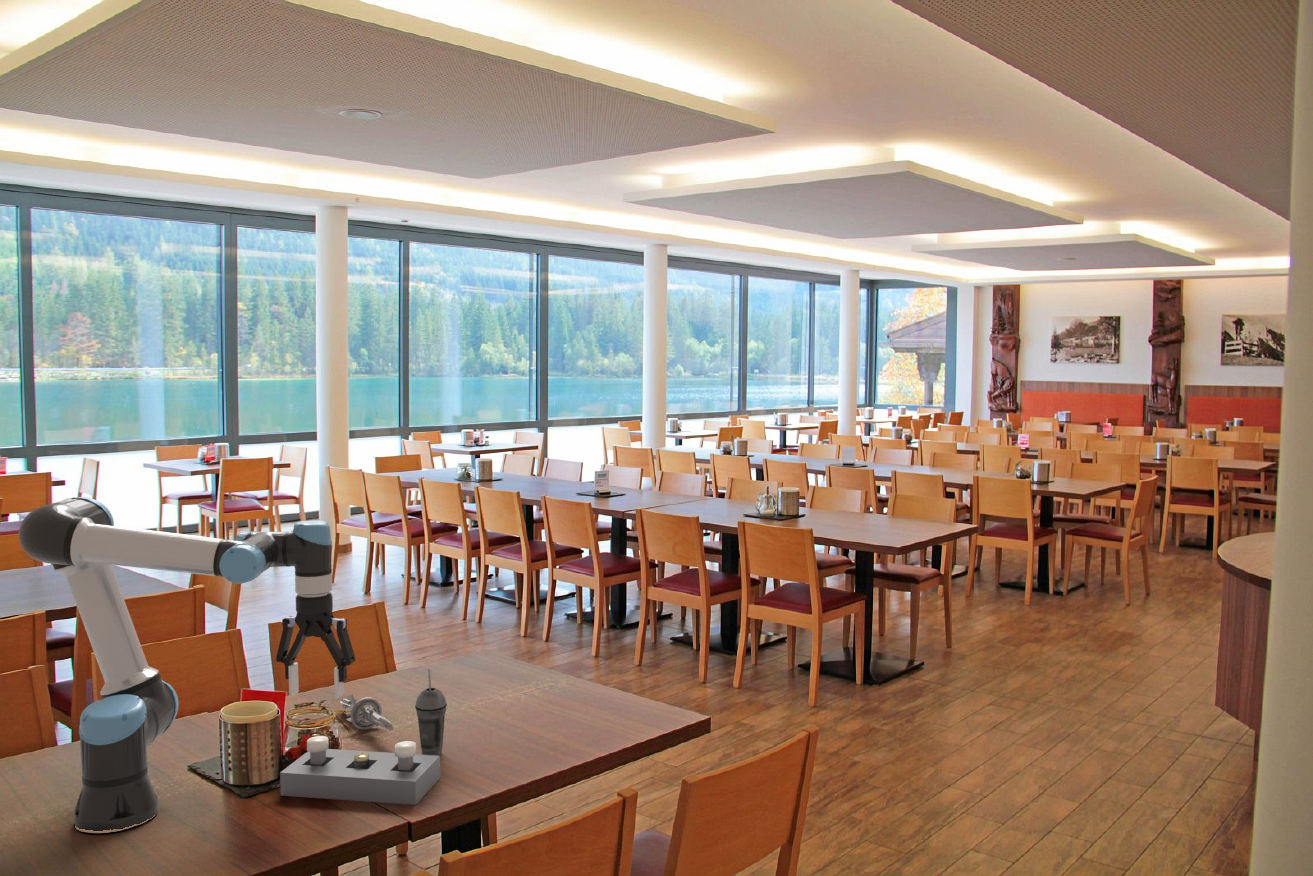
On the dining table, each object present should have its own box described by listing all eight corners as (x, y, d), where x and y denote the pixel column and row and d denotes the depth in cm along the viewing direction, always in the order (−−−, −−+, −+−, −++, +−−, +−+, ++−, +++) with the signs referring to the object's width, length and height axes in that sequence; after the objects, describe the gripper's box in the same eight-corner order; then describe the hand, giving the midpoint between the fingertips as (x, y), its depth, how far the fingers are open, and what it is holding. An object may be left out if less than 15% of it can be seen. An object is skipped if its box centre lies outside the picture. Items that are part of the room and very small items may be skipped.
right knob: (411, 772, 216) (411, 749, 215) (391, 771, 216) (391, 748, 216) (419, 764, 220) (419, 741, 220) (400, 763, 221) (399, 740, 220)
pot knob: (365, 772, 218) (365, 759, 218) (351, 772, 219) (351, 758, 218) (372, 767, 221) (371, 753, 221) (358, 766, 222) (357, 752, 221)
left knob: (322, 766, 219) (322, 744, 218) (303, 765, 219) (303, 742, 219) (332, 759, 223) (331, 736, 223) (313, 757, 224) (313, 735, 223)
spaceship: (370, 721, 237) (400, 703, 242) (323, 697, 266) (350, 681, 270) (384, 750, 239) (413, 731, 243) (336, 723, 267) (363, 706, 272)
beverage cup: (420, 762, 234) (418, 676, 232) (412, 751, 240) (411, 668, 239) (451, 756, 237) (450, 672, 236) (442, 746, 244) (441, 663, 242)
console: (415, 805, 211) (415, 781, 211) (280, 795, 216) (280, 772, 215) (440, 778, 225) (439, 755, 224) (312, 769, 229) (312, 748, 229)
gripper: (370, 591, 221) (372, 692, 222) (274, 587, 224) (277, 687, 226) (355, 599, 213) (357, 703, 215) (256, 595, 217) (259, 698, 218)
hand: (316, 695), depth 220 cm, fingers open, 10 cm apart
